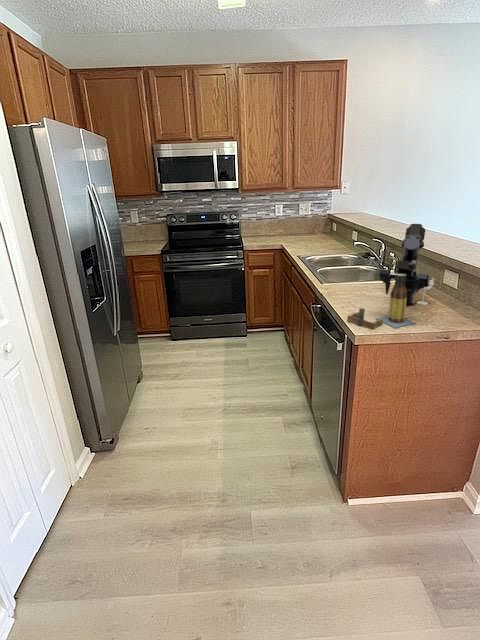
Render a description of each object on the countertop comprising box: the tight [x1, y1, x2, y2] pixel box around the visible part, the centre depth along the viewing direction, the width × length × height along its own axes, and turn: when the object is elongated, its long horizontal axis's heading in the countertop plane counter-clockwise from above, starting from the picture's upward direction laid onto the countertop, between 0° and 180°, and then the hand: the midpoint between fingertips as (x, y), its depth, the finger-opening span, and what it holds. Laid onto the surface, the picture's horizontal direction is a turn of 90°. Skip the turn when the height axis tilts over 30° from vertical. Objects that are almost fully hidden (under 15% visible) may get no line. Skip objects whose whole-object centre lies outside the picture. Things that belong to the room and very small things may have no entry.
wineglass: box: [416, 276, 435, 306], centre depth 171 cm, size 7×7×12 cm
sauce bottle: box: [388, 272, 407, 322], centre depth 149 cm, size 7×6×20 cm
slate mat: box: [375, 315, 417, 329], centre depth 153 cm, size 11×11×1 cm
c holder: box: [346, 308, 384, 330], centre depth 151 cm, size 8×12×7 cm, turn 41°
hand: (398, 295), depth 148 cm, fingers open, 9 cm apart
